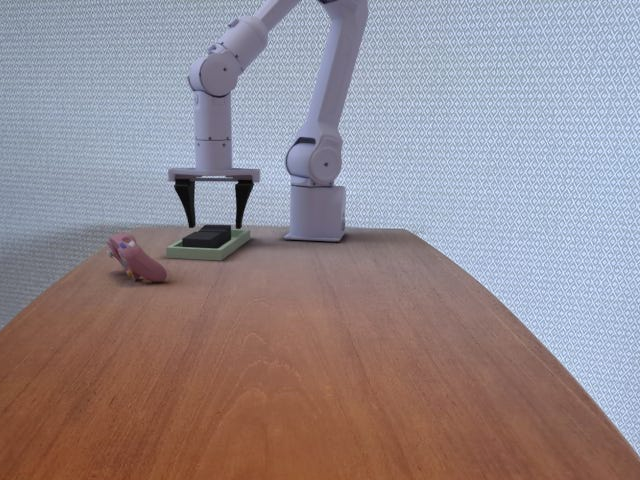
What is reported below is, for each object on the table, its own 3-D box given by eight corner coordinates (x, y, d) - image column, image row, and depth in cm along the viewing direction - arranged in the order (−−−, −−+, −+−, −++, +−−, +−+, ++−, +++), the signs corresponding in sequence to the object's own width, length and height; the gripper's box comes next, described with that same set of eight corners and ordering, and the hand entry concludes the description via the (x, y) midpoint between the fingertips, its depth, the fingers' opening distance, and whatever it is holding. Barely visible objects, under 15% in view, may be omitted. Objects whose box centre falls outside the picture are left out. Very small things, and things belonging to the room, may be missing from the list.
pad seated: (195, 246, 108) (194, 231, 107) (221, 247, 107) (221, 232, 106) (182, 254, 102) (181, 238, 101) (210, 255, 101) (210, 239, 100)
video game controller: (122, 280, 95) (95, 237, 91) (149, 263, 96) (124, 220, 92) (141, 297, 87) (113, 251, 83) (171, 278, 87) (144, 231, 84)
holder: (202, 236, 118) (202, 227, 117) (250, 239, 116) (250, 229, 115) (166, 257, 102) (166, 247, 101) (221, 260, 100) (221, 249, 99)
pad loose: (205, 238, 114) (205, 224, 113) (231, 239, 113) (231, 224, 113) (198, 245, 108) (198, 230, 107) (225, 246, 108) (225, 231, 107)
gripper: (262, 138, 108) (262, 224, 113) (173, 138, 110) (177, 222, 114) (257, 140, 102) (257, 231, 106) (163, 140, 103) (167, 229, 108)
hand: (215, 227), depth 110 cm, fingers open, 7 cm apart
